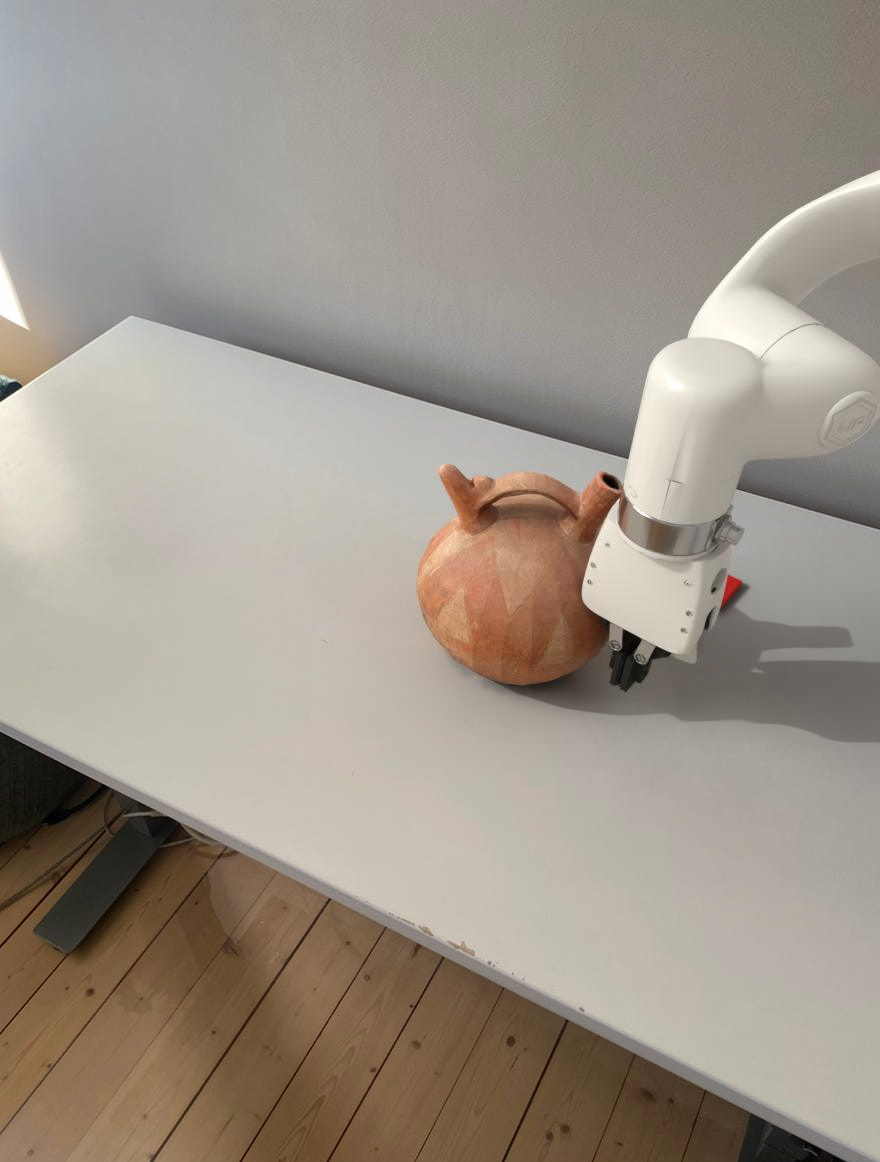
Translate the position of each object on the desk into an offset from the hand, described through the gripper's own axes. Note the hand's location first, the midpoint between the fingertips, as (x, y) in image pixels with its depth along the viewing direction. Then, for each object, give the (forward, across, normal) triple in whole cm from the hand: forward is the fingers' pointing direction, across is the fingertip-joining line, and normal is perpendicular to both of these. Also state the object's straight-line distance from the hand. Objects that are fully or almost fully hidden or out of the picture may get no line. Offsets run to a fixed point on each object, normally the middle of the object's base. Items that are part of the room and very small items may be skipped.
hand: (626, 678), depth 80 cm
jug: (+4, +12, -1) cm, 13 cm away
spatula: (+4, +10, -19) cm, 22 cm away
